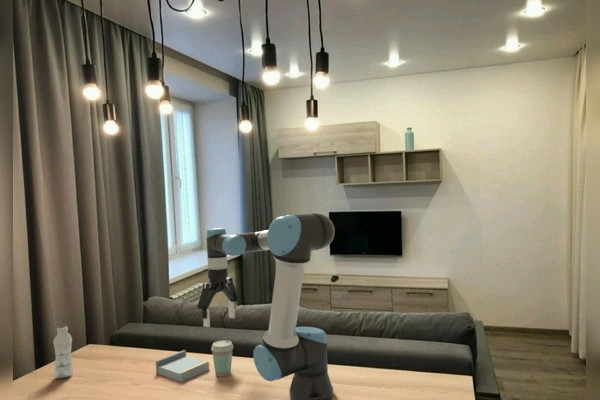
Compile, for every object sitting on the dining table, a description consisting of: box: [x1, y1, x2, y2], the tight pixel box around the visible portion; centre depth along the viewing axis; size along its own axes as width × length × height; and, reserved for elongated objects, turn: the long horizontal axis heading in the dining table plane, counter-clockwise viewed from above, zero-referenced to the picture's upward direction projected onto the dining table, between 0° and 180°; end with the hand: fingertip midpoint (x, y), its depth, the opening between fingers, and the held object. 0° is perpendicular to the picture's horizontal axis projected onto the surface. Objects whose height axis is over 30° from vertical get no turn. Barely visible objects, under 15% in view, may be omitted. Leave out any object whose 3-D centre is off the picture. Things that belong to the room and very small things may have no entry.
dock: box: [155, 349, 210, 383], centre depth 178 cm, size 15×14×5 cm
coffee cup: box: [210, 339, 234, 378], centre depth 175 cm, size 8×8×12 cm
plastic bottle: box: [53, 325, 74, 380], centre depth 176 cm, size 6×7×20 cm
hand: (219, 322), depth 174 cm, fingers open, 13 cm apart
